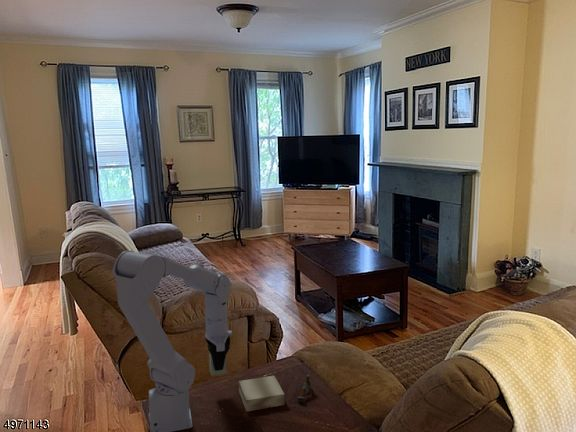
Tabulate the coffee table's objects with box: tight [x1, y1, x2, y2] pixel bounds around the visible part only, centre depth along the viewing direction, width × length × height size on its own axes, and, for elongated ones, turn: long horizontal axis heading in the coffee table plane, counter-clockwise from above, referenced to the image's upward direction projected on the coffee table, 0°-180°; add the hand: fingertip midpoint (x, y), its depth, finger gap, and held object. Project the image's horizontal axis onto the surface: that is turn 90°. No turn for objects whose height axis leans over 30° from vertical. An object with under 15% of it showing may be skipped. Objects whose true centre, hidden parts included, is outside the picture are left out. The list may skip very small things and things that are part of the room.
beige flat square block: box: [238, 375, 286, 412], centre depth 113 cm, size 10×10×3 cm
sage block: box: [208, 351, 227, 376], centre depth 115 cm, size 4×4×6 cm
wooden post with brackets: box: [296, 373, 312, 403], centre depth 115 cm, size 2×8×4 cm, turn 160°
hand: (217, 365), depth 115 cm, fingers closed on sage block, 4 cm apart
